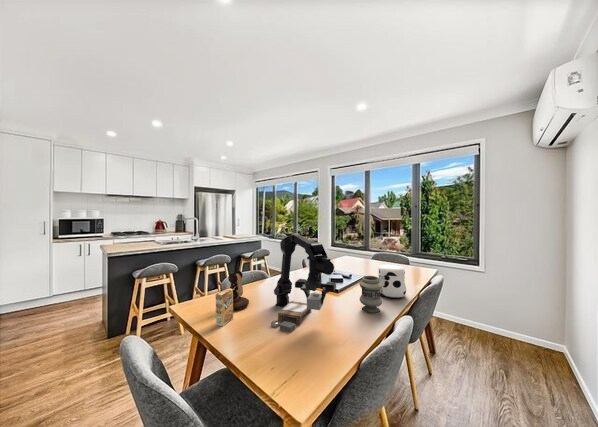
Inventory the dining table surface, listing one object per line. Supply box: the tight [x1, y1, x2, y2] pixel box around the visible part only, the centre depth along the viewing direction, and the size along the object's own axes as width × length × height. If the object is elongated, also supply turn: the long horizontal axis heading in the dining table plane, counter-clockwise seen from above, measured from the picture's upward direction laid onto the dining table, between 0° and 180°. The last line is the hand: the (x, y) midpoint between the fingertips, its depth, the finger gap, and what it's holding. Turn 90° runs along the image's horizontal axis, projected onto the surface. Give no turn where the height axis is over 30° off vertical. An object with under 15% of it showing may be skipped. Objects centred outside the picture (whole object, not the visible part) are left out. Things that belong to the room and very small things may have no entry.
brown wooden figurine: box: [227, 269, 250, 311], centre depth 135 cm, size 15×15×20 cm
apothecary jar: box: [359, 275, 384, 315], centre depth 128 cm, size 12×12×18 cm
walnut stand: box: [277, 300, 312, 326], centre depth 122 cm, size 12×16×4 cm
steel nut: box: [270, 320, 280, 328], centre depth 112 cm, size 4×4×2 cm
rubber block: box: [279, 320, 296, 333], centre depth 109 cm, size 6×4×2 cm, turn 61°
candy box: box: [215, 288, 234, 327], centre depth 116 cm, size 9×4×15 cm, turn 162°
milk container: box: [378, 264, 407, 299], centre depth 150 cm, size 17×17×18 cm
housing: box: [306, 291, 324, 311], centre depth 110 cm, size 6×8×6 cm
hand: (315, 303), depth 110 cm, fingers closed on housing, 6 cm apart
